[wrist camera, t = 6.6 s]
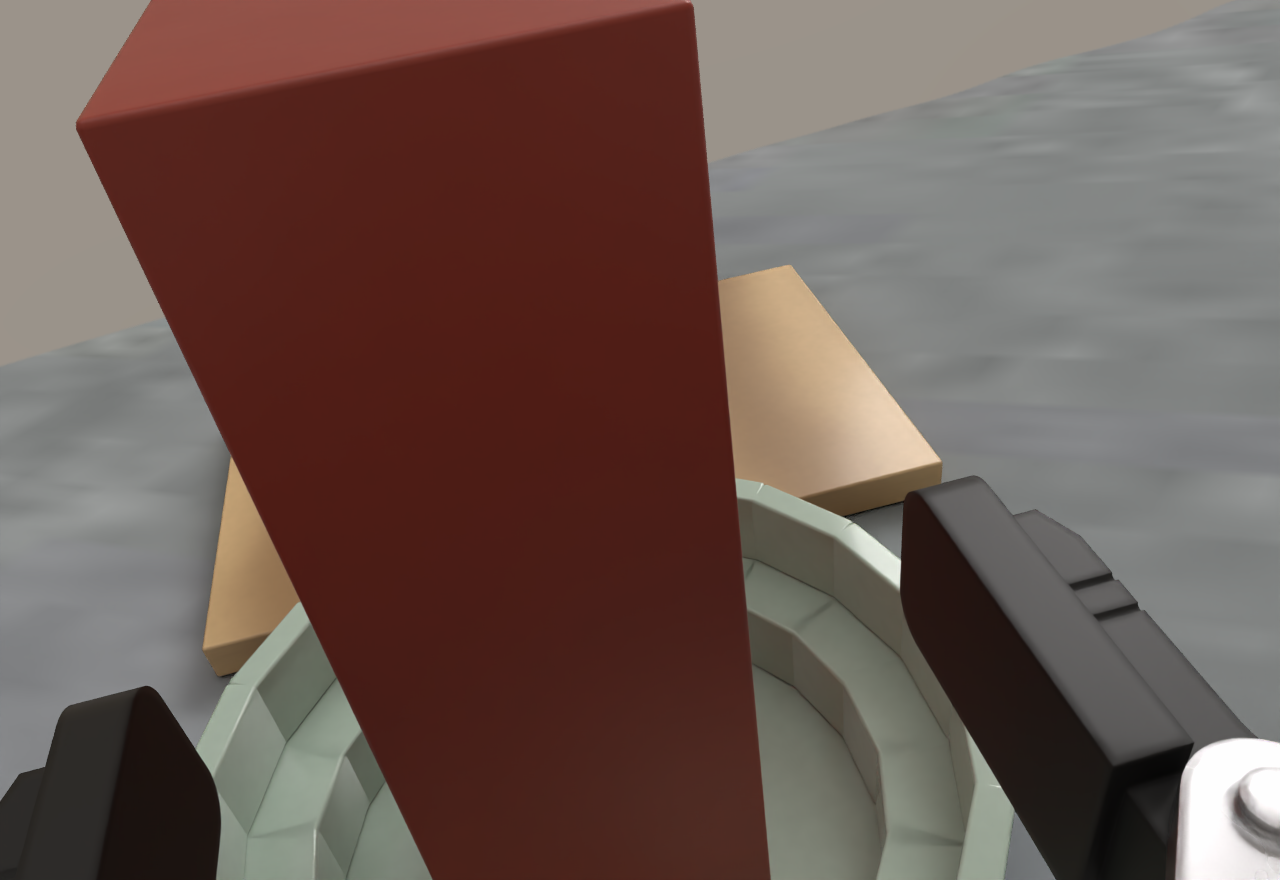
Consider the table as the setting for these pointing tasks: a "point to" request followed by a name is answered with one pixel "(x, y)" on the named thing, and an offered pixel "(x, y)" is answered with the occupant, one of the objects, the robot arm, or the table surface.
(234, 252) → the red rectangular block
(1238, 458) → the table surface
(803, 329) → the board
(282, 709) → the bowl
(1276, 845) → the robot arm
